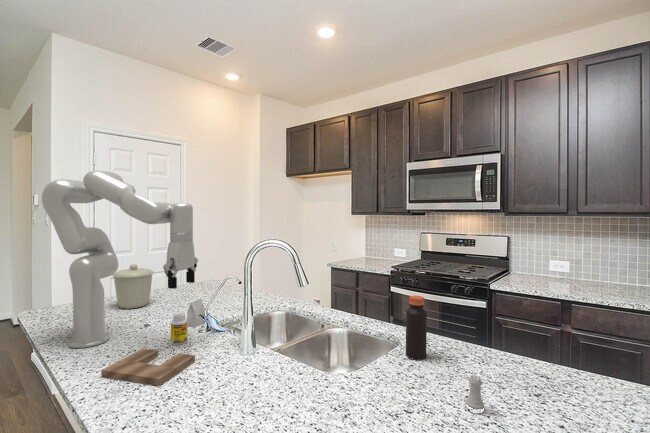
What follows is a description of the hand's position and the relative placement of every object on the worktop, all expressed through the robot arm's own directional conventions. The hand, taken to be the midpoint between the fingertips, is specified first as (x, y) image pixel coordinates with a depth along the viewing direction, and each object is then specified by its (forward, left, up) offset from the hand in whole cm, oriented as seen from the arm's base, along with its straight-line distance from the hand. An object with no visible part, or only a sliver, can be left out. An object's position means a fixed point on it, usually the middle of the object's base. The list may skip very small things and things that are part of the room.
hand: (181, 285), depth 124 cm
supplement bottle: (-2, +1, -22) cm, 22 cm away
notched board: (+3, -19, -22) cm, 29 cm away
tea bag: (-8, +20, -22) cm, 31 cm away
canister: (-54, +35, -22) cm, 68 cm away
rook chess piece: (+96, -16, -22) cm, 100 cm away
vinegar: (+82, +12, -22) cm, 86 cm away
